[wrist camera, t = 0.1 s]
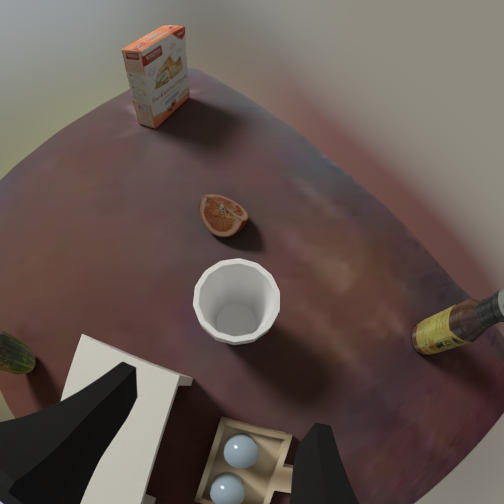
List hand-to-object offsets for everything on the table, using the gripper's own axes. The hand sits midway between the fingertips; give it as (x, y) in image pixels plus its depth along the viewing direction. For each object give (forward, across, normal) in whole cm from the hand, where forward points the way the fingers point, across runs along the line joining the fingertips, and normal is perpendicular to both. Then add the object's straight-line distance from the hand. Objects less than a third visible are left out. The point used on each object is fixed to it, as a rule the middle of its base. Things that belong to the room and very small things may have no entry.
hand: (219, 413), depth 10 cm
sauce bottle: (+33, -30, +14) cm, 46 cm away
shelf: (+13, +12, +31) cm, 36 cm away
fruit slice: (+41, +9, +7) cm, 43 cm away
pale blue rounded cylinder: (+10, -4, +33) cm, 35 cm away
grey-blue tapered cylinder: (+15, -4, +28) cm, 33 cm away
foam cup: (+29, +2, +18) cm, 34 cm away
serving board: (+13, -8, +31) cm, 35 cm away
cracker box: (+60, +34, -10) cm, 70 cm away
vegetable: (+15, +34, +30) cm, 48 cm away
